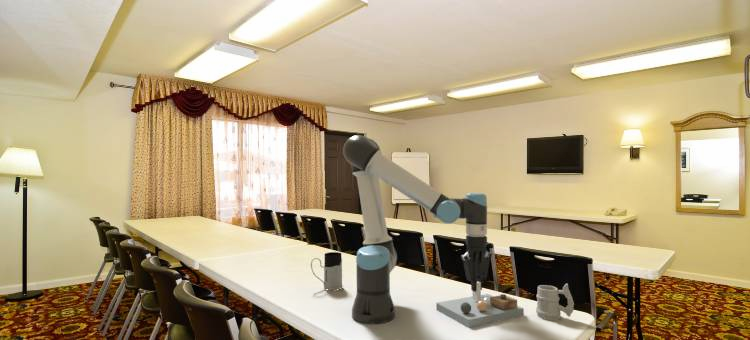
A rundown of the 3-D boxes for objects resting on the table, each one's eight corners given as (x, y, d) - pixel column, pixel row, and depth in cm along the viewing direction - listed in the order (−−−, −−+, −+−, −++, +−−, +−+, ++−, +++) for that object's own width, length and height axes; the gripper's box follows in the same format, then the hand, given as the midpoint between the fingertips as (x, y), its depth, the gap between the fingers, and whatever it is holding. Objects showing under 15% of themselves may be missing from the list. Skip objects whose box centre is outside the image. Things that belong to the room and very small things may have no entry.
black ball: (465, 315, 120) (464, 305, 120) (458, 312, 123) (458, 301, 124) (473, 314, 122) (473, 303, 122) (466, 310, 125) (466, 300, 125)
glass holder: (345, 289, 159) (345, 254, 159) (313, 293, 154) (313, 257, 154) (339, 284, 167) (339, 251, 167) (309, 287, 162) (308, 253, 162)
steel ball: (483, 298, 134) (490, 294, 136) (478, 300, 137) (485, 297, 138) (488, 307, 133) (495, 303, 134) (484, 309, 136) (491, 305, 137)
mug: (537, 311, 131) (536, 277, 131) (574, 316, 125) (573, 281, 125) (534, 318, 124) (534, 282, 125) (574, 324, 118) (573, 287, 119)
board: (468, 327, 117) (468, 319, 117) (436, 309, 133) (436, 302, 133) (523, 315, 127) (523, 308, 127) (487, 300, 143) (487, 293, 143)
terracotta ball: (481, 313, 122) (481, 303, 122) (474, 310, 125) (474, 300, 125) (489, 312, 123) (489, 301, 123) (482, 308, 127) (482, 298, 127)
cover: (503, 309, 124) (503, 299, 125) (490, 304, 130) (489, 293, 130) (517, 307, 127) (517, 296, 127) (503, 301, 133) (503, 291, 133)
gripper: (469, 237, 128) (469, 305, 128) (497, 235, 134) (497, 300, 133) (455, 234, 135) (455, 299, 134) (482, 232, 141) (483, 294, 140)
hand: (476, 299), depth 134 cm, fingers closed
